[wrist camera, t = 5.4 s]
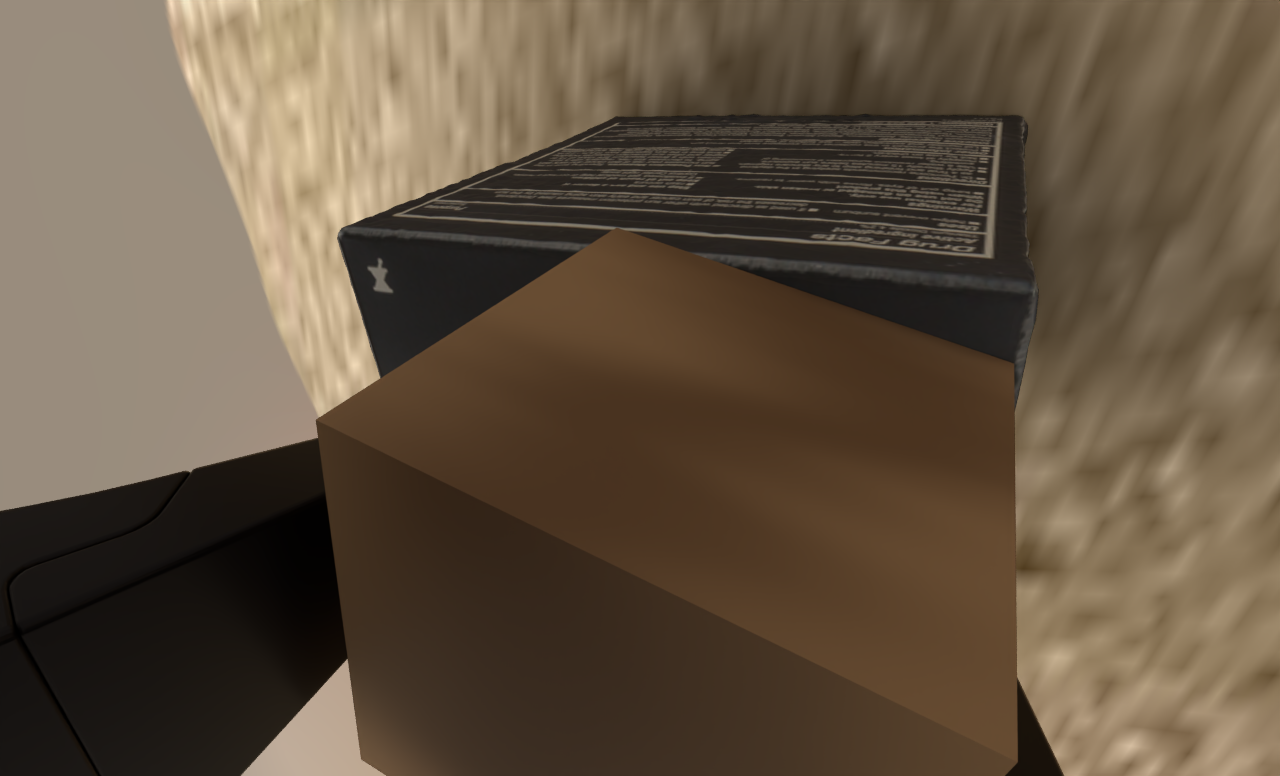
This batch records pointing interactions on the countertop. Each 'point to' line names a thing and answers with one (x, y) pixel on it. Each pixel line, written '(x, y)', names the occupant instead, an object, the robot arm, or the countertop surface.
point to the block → (678, 536)
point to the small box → (729, 222)
